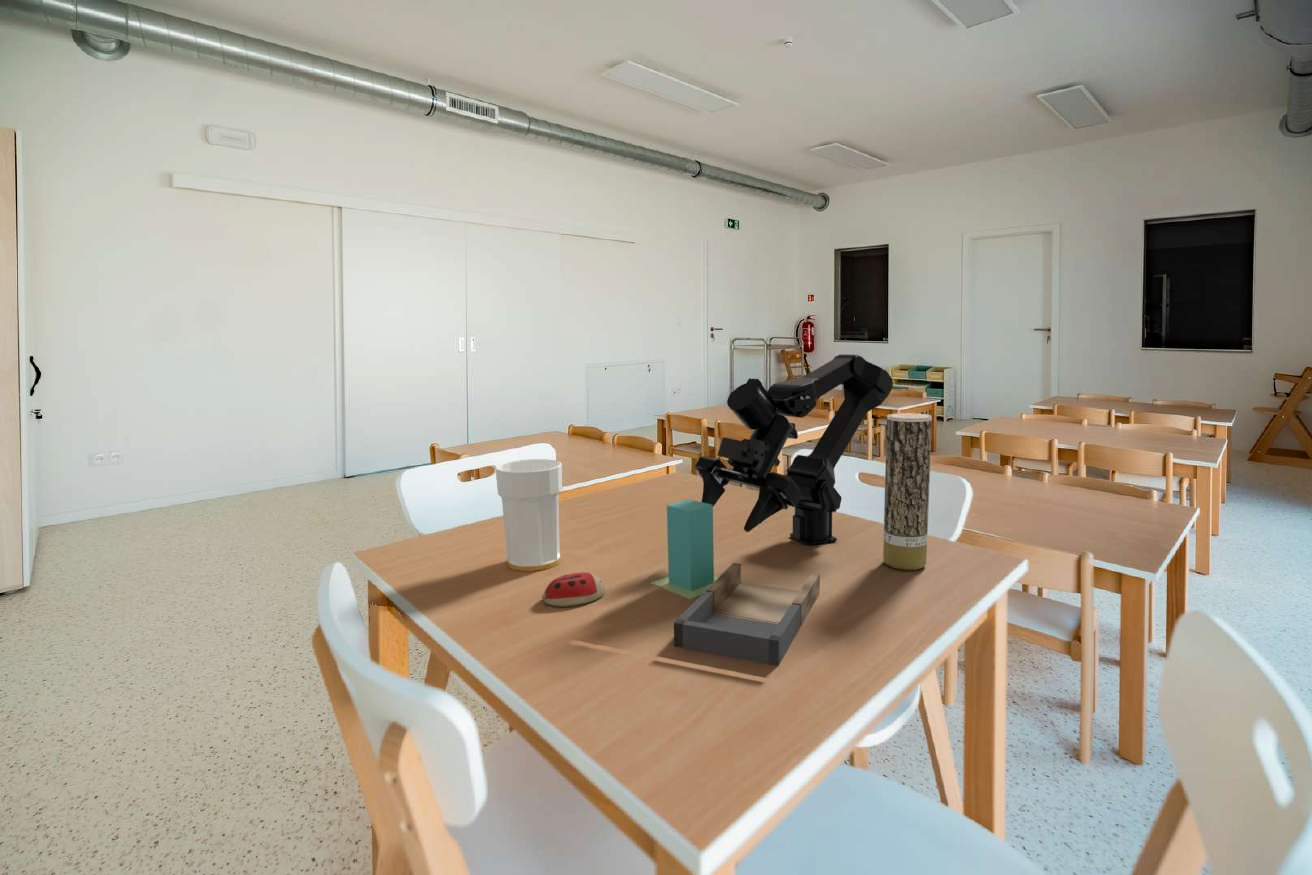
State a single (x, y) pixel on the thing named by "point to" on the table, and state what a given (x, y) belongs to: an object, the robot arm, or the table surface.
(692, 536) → the teal block
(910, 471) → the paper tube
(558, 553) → the cup
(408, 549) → the table surface
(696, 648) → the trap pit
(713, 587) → the open channel
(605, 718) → the table surface
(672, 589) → the pad
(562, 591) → the ladybug figurine
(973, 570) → the table surface
